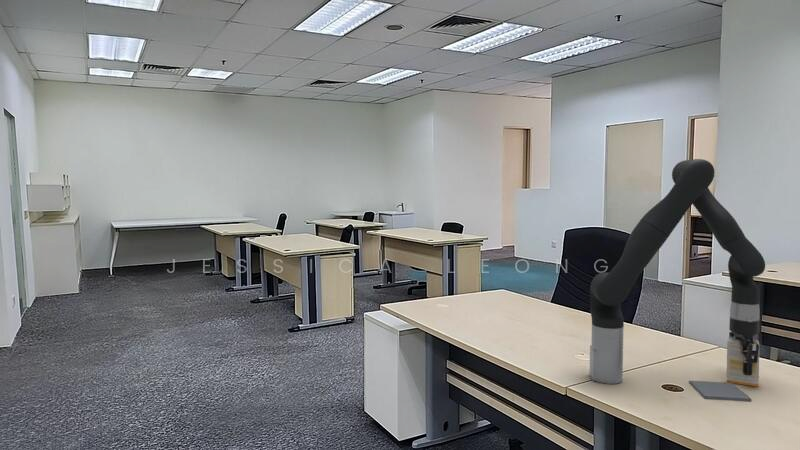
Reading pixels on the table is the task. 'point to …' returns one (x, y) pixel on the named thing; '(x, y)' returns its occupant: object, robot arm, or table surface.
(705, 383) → the rubber mat
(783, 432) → the table surface
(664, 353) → the table surface
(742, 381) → the supplement box
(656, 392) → the table surface
